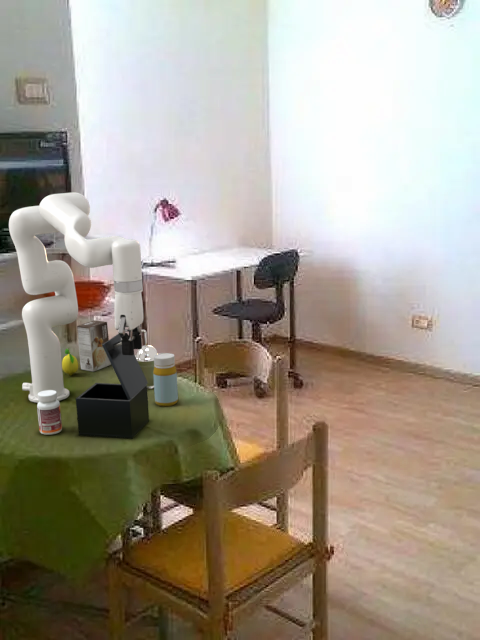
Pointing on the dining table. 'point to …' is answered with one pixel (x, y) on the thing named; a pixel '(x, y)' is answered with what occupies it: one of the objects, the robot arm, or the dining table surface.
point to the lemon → (69, 363)
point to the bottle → (165, 379)
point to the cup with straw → (147, 361)
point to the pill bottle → (49, 412)
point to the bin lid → (125, 367)
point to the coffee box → (93, 345)
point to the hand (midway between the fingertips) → (132, 351)
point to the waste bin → (111, 411)
